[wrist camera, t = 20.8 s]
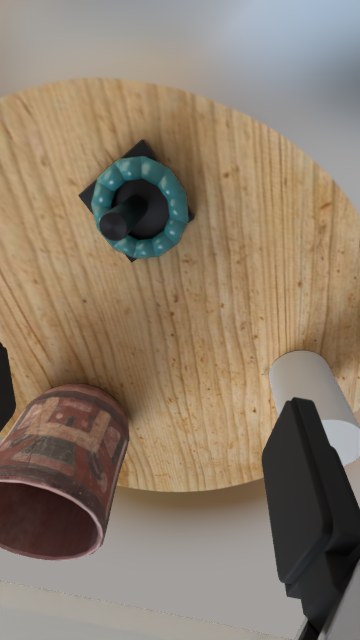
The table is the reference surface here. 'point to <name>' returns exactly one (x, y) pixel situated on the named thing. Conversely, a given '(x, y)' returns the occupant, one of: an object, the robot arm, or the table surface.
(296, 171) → the table surface
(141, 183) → the peg stand
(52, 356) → the table surface
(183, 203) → the ring
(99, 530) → the pottery
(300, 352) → the grey cylinder
